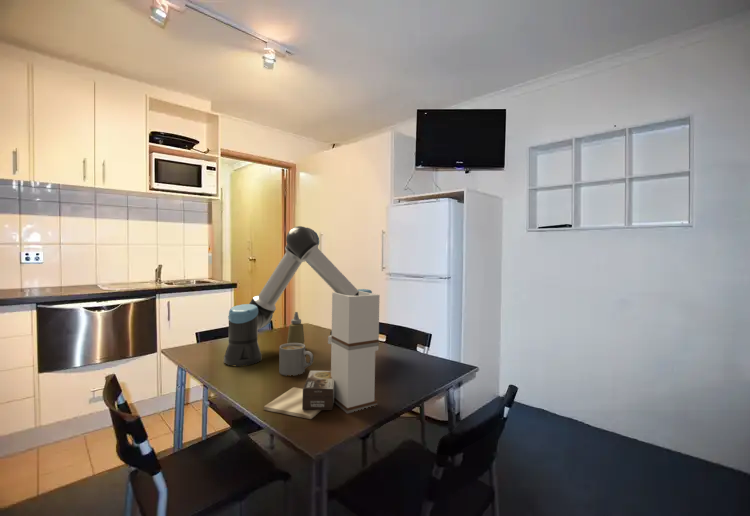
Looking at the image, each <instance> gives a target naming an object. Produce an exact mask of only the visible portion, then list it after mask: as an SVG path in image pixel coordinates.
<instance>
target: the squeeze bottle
mask: <svg viewBox="0 0 750 516" xmlns="http://www.w3.org/2000/svg"><path fill="white" fill-rule="evenodd" d="M299 317H300V316H299V313H298V311H295V312H294V316H293V318H292V319H291V320H290V321H291V322H290V324H289V325H288V333H287V340H286V341H287V343H302V344H304V345H305V331H304V324H303V323H302V319H301V318H299ZM287 343H286V344H287Z"/></svg>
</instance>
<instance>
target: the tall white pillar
mask: <svg viewBox="0 0 750 516" xmlns="http://www.w3.org/2000/svg"><path fill="white" fill-rule="evenodd" d="M331 295H332V297H331V331H332V339H331V344H330V346H331V349H330V352H331V353H330V355H331V356H330V371H331V377H332V378H333V379H334V380H335V392H334V402H333V404H335V405H337V406H338V408H340V409H341V410H343V412H345V414H351V413H355V412H358V410H359V411H362V410H365V409H364V408H366V409H369V408H368V407H370V408H372V407H371V406H374V405H377V406H378V400H377V399H376V398H375V391H376V389H375V388H376V387H375V385H376V383H375V382H376V379H375V377H376V351H379V342H380V341H379V340H380V339H379V338H380V337H379V336H380V335H379V334H380V294H376V293H373V292H372V293H368V292H363V291H359V296H350V295H343V294H339V293H336V292H335V291H333V292H332V293H331ZM374 407H375V406H374ZM361 409H362V410H361ZM354 411H355V412H354Z"/></svg>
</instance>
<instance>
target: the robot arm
mask: <svg viewBox="0 0 750 516" xmlns="http://www.w3.org/2000/svg"><path fill="white" fill-rule="evenodd" d="M285 240H286V241H285V242H286V245H285V247H284V251H285V253H284V255H283V256H282V258H281V260H280V261H279V263H278V264H277V266H276V267H275V269H274V271H273V272H272V274H271V275H270V276H269V278H268V280H267V282H266V283H265V284H264V286H263V288H262V289H261V290H260V292H259V294H258V295H255V296H253V297H252V298H251V300H250V302H249V303H246V304H245V303H243V304H237V305H234V306H233V307H231V308H230V309H229V311H228V317H227V318H228V344H227V348H226V351H225V354H224V356H223V364H224V363H226V364H228V365H227V366H229V365H236V366H235V367H244V366H243V365H247V366H251V365H250V364H252V365H255V364H257V362H258V363H259V361H260V362H261V361H262V359H263V358H262V353H261V350H260V346H259V342H258V341H259V340H258V337H259V336H258V332H259V331H258V330H260V329H262V328H265V327H266V326H268V325H269V324H270V322H271V321H272V319H273V315H274V313H275V311H276V310H277V308H276V307H277V306H276V304H277V302H278V301H279V299H280V297H281V296H282V294H283V292H284V291H285V289H286V288H287V287H288V285H289V283H290V282H291V280H292V278H293V277H294V276H295V274H296V272H297V271H298V270H299V267H300V266H301V264H302V263H305V262H306V263H307V264H308V266H309V267H311V268H312V270H313V271H314V272H315V273H316V274H317V275H318V276H319V277H320V279H322V281H324V282H325V284H327V286H329V287H330V288H331V289H332V290H333V292H335V293H339V294H343V295H350V296H359V291H363V292H368V293H372V294H373V291H372V289H365V288H360V289H357V288H356V287H355V285H353V283H352V282H351V281H350V280H349V279H348V278H347V277H346V276H345V275H344V274H343V273H342V271H340V270H339V269H338V268H337V267H336V266H335V264H334V263H333V262H332V261H331V260H330V259H329V258H328V257H327V256H326V255H325V254H324V253H323V252H322V251H321V250H320V249H319V245H320V237H319V234H318V233H317V232H316V231H315V230H313V229H312V228H310V227H305V226H301V225H299V226H294V227H293V228H291V229H290V230H289V231H288V232H287V235H286V239H285ZM327 337H328V338H327V344H329V345H331V339H332V330H330V334H329V335H328V336H327ZM254 363H255V364H254ZM226 364H225V365H226ZM241 365H242V366H241Z"/></svg>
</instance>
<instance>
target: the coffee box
mask: <svg viewBox="0 0 750 516" xmlns="http://www.w3.org/2000/svg"><path fill="white" fill-rule="evenodd" d="M302 389H303V399H302V410H321V411H332V410H333V407H334V392H335V380H334V379H333V378H332V377H331V370H309V373H308V375H307V378H306V381H305V383H304V386H303V388H302Z"/></svg>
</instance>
